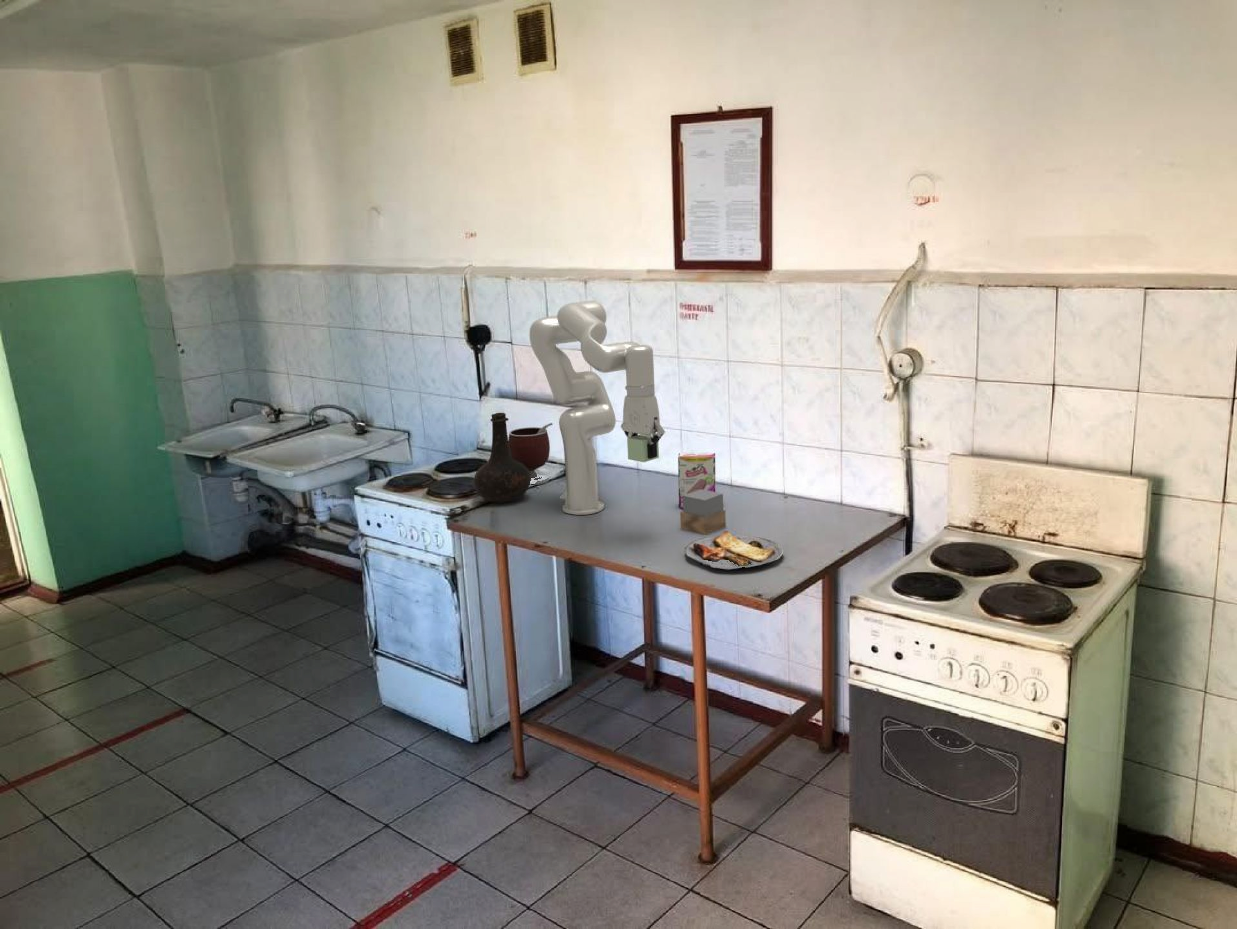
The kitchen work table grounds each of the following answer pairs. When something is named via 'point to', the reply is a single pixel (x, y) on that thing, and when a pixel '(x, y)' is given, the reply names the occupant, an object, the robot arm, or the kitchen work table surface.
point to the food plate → (733, 550)
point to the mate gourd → (530, 448)
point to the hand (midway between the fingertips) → (643, 455)
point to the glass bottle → (501, 468)
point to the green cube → (639, 448)
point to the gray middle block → (702, 503)
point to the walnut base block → (703, 522)
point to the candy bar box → (695, 473)
